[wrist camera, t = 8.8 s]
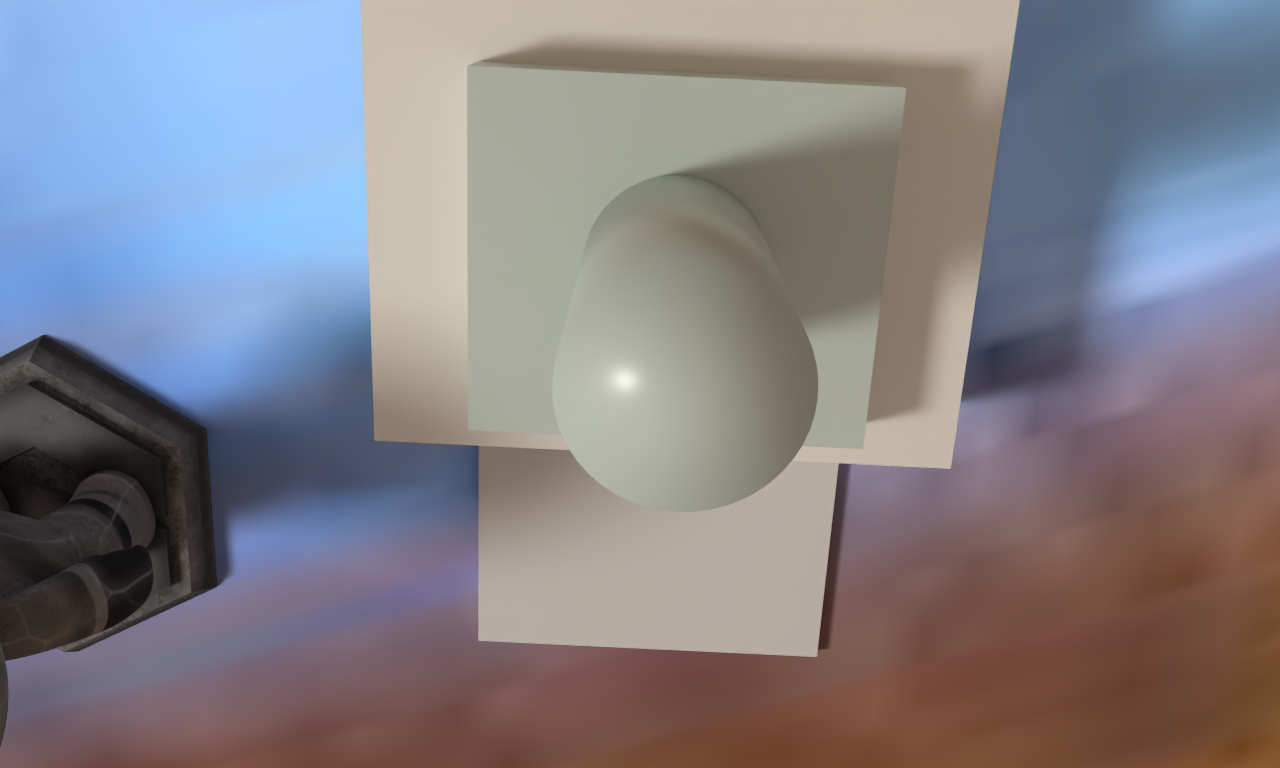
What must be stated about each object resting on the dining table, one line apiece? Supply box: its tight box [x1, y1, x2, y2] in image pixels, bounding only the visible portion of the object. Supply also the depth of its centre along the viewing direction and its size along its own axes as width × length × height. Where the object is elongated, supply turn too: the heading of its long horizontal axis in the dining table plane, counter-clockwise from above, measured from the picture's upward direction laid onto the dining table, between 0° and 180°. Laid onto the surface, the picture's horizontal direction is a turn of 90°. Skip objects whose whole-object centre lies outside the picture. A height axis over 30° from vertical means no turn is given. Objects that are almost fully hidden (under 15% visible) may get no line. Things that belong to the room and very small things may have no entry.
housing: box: [361, 0, 1020, 469], centre depth 27 cm, size 19×14×4 cm
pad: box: [478, 446, 839, 657], centre depth 33 cm, size 8×10×1 cm
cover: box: [467, 61, 906, 512], centre depth 22 cm, size 8×9×10 cm
